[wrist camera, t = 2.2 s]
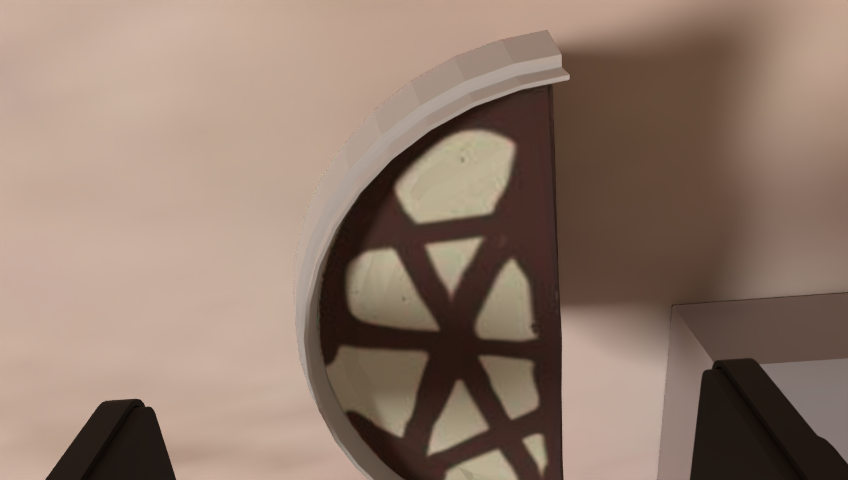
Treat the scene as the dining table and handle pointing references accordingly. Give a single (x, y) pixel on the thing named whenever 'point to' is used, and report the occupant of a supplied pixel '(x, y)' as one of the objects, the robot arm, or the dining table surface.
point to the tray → (774, 351)
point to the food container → (442, 276)
